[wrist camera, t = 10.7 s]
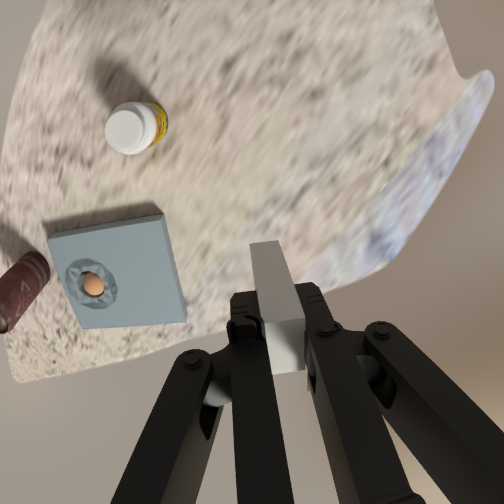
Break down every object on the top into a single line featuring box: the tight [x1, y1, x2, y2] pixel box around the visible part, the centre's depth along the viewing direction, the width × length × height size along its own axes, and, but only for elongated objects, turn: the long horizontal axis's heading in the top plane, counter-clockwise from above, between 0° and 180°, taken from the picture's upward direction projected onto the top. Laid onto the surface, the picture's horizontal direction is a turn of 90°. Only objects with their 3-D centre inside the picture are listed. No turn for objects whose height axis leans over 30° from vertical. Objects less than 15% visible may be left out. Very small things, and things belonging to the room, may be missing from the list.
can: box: [0, 252, 50, 334], centre depth 36 cm, size 6×6×14 cm
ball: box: [83, 272, 105, 295], centre depth 42 cm, size 4×4×4 cm
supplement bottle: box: [104, 102, 168, 155], centre depth 31 cm, size 6×6×10 cm
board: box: [46, 214, 187, 329], centre depth 43 cm, size 16×18×2 cm
